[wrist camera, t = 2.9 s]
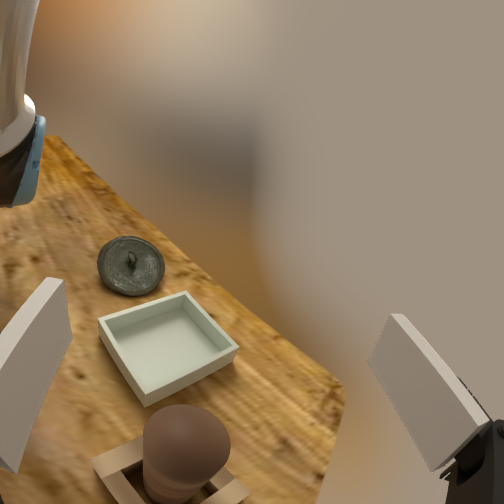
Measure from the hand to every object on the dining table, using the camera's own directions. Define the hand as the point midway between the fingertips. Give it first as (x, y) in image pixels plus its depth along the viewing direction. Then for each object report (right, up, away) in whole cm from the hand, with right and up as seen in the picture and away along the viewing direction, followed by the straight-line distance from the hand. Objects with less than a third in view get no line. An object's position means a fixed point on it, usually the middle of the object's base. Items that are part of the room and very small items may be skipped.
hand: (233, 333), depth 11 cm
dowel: (-7, -18, +9) cm, 22 cm away
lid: (-18, -1, +32) cm, 37 cm away
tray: (-10, -9, +23) cm, 26 cm away
